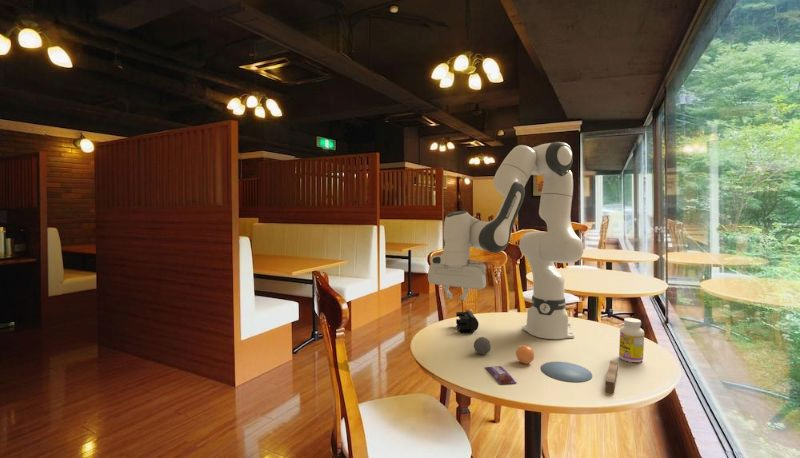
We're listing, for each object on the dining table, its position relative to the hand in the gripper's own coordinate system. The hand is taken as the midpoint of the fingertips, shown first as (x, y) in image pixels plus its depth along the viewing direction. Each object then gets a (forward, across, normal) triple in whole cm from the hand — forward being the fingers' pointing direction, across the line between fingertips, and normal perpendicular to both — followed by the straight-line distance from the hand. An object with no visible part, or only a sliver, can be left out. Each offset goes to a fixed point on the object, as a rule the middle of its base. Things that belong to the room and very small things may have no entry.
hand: (456, 299), depth 135 cm
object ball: (+14, -24, 0) cm, 28 cm away
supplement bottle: (+17, -51, -21) cm, 58 cm away
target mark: (+17, -36, 0) cm, 39 cm away
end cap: (+18, +5, -21) cm, 28 cm away
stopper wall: (+17, -48, 0) cm, 50 cm away
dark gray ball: (+14, -10, 0) cm, 17 cm away
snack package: (+18, -20, +13) cm, 30 cm away
